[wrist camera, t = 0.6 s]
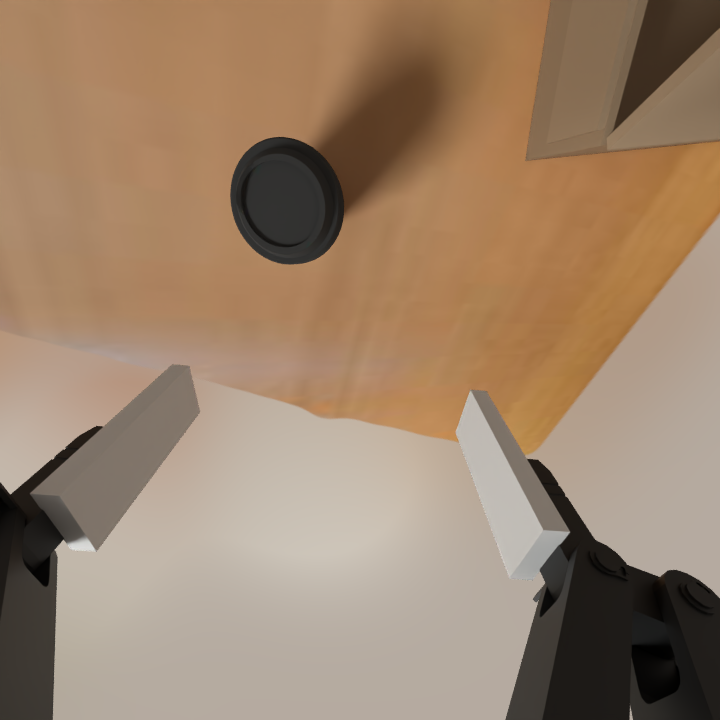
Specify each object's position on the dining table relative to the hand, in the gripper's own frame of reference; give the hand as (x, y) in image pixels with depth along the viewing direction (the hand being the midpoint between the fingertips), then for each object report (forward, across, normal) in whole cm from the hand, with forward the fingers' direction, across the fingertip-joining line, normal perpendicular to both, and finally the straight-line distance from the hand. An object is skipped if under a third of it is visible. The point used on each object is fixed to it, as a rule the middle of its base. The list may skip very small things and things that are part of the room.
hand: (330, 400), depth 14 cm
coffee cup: (+28, -5, +7) cm, 30 cm away
